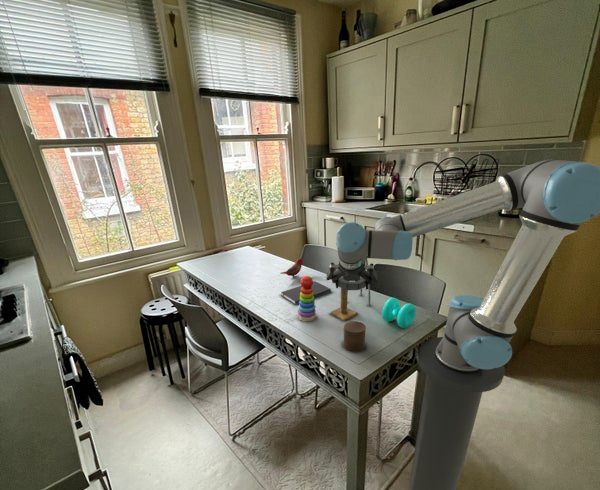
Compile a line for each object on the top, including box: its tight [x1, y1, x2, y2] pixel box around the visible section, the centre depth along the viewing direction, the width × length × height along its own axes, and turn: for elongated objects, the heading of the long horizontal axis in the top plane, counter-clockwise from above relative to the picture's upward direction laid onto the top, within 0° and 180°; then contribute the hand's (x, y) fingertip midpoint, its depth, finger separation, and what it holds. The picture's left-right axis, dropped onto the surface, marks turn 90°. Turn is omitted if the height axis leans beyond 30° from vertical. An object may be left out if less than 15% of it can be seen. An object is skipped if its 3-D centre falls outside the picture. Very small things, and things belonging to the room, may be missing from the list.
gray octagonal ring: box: [338, 274, 366, 291], centre depth 111 cm, size 10×10×2 cm
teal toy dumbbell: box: [381, 297, 417, 329], centre depth 125 cm, size 10×10×10 cm
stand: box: [343, 320, 367, 353], centre depth 113 cm, size 8×8×8 cm
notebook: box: [280, 280, 331, 305], centre depth 155 cm, size 13×2×21 cm
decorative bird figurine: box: [280, 257, 304, 279], centre depth 171 cm, size 3×18×10 cm, turn 136°
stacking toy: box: [297, 275, 317, 322], centre depth 130 cm, size 8×8×19 cm
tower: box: [330, 288, 358, 322], centre depth 132 cm, size 8×8×16 cm
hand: (351, 285), depth 115 cm, fingers closed on gray octagonal ring, 10 cm apart
